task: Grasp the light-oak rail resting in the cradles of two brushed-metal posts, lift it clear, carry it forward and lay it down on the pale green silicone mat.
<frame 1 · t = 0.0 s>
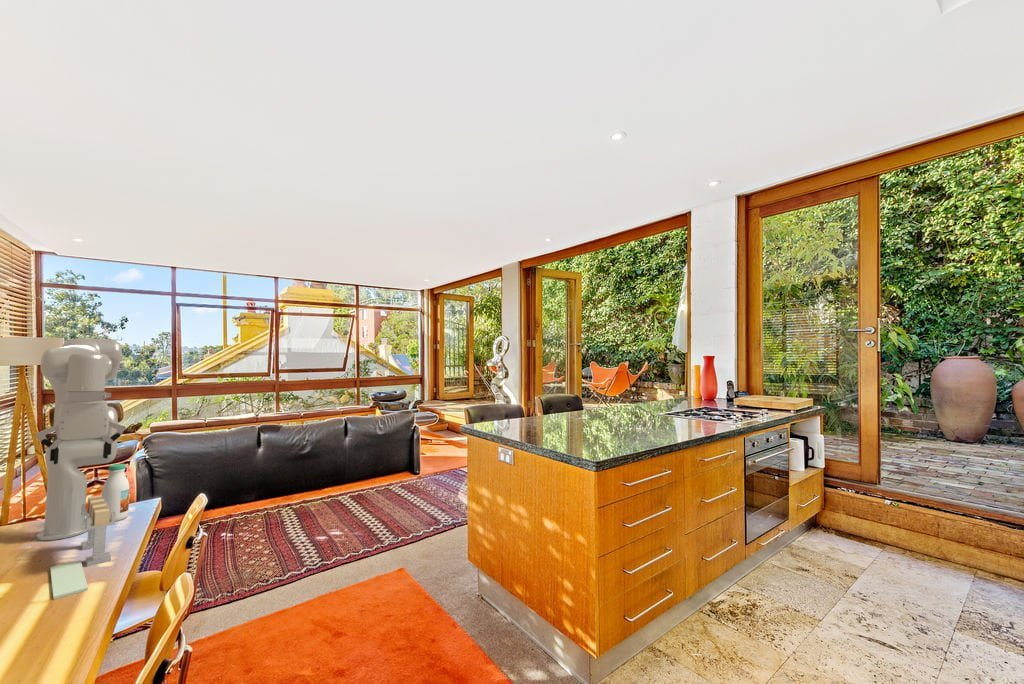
hand: (81, 460, 117), 31 cm above the table, fingers open, 9 cm apart
rail: (97, 516, 131), point 11 cm above the table, touching post 2, post 1
post 2: (98, 560, 125), on the table
mat: (68, 579, 114), on the table
milk bottle: (114, 519, 159), on the table
post 1: (92, 545, 136), on the table
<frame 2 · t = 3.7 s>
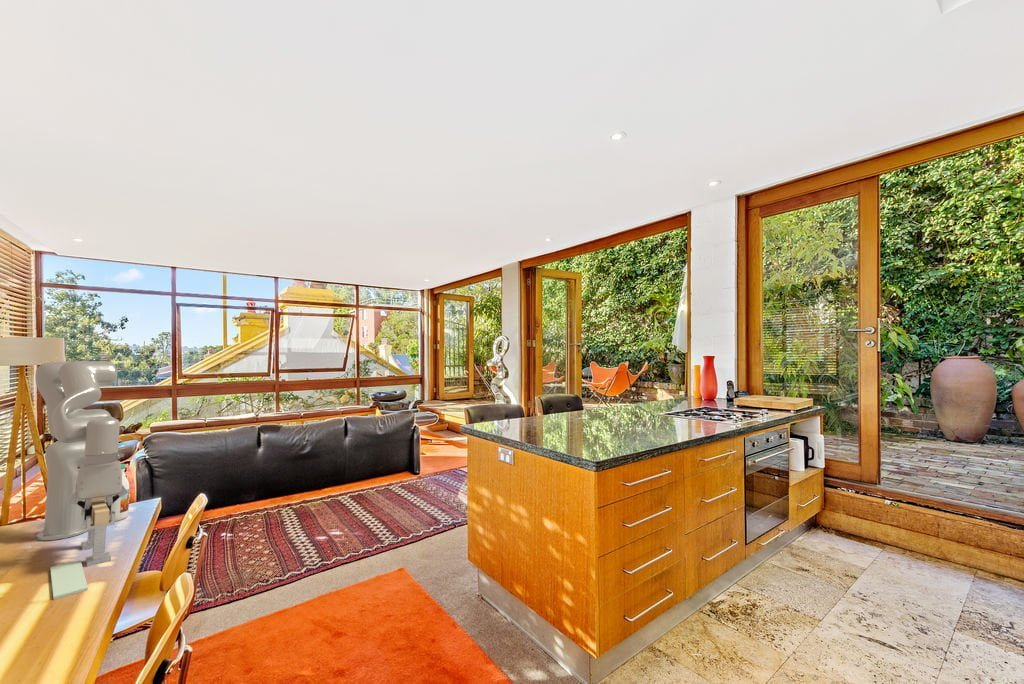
hand: (97, 519, 131), 10 cm above the table, fingers closed on rail, 3 cm apart
rail: (97, 516, 131), point 11 cm above the table, touching gripper, post 1
everything else where it was.
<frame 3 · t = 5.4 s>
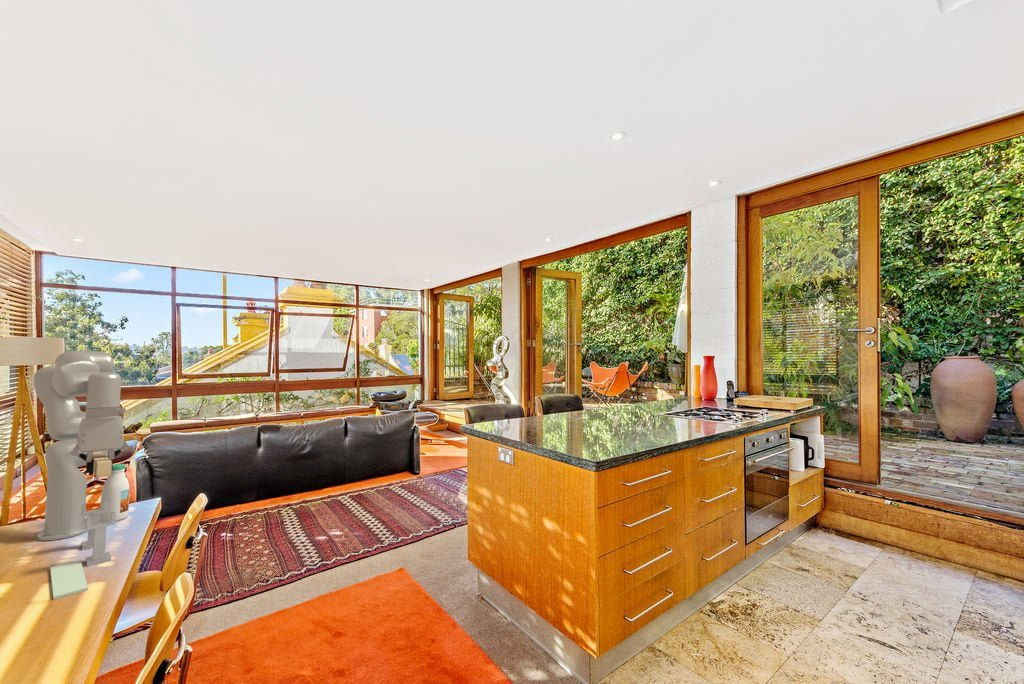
hand: (99, 473, 131), 24 cm above the table, fingers closed on rail, 3 cm apart
rail: (99, 470, 131), point 25 cm above the table, touching gripper
everything else where it was.
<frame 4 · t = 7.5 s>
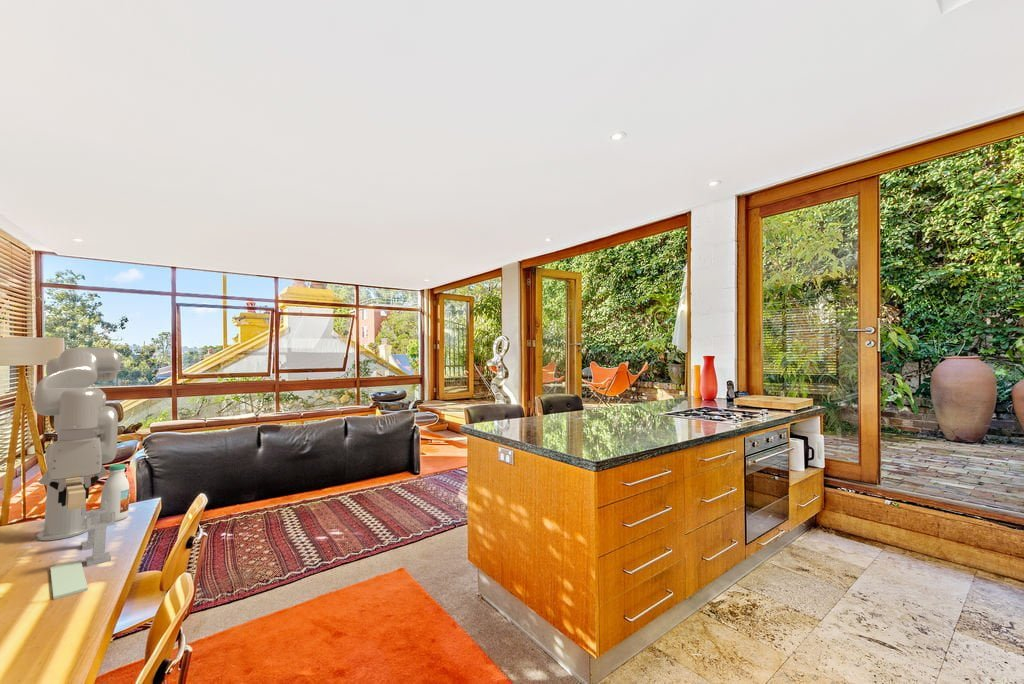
hand: (73, 502, 115), 20 cm above the table, fingers closed on rail, 3 cm apart
rail: (73, 499, 116), point 21 cm above the table, touching gripper
everything else where it was.
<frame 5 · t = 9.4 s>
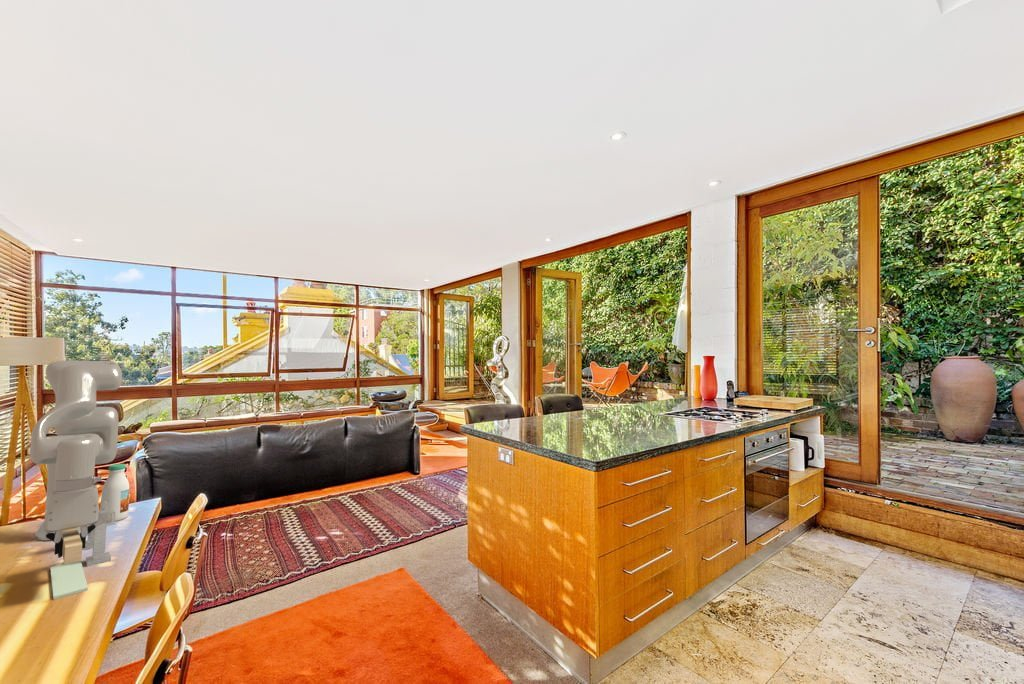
hand: (69, 553, 115), 7 cm above the table, fingers closed on rail, 3 cm apart
rail: (70, 550, 115), point 8 cm above the table, touching gripper
everything else where it was.
when the fingers open (1 cm above the table, at t = 11.3 s): rail drops 2 cm, resting on mat.
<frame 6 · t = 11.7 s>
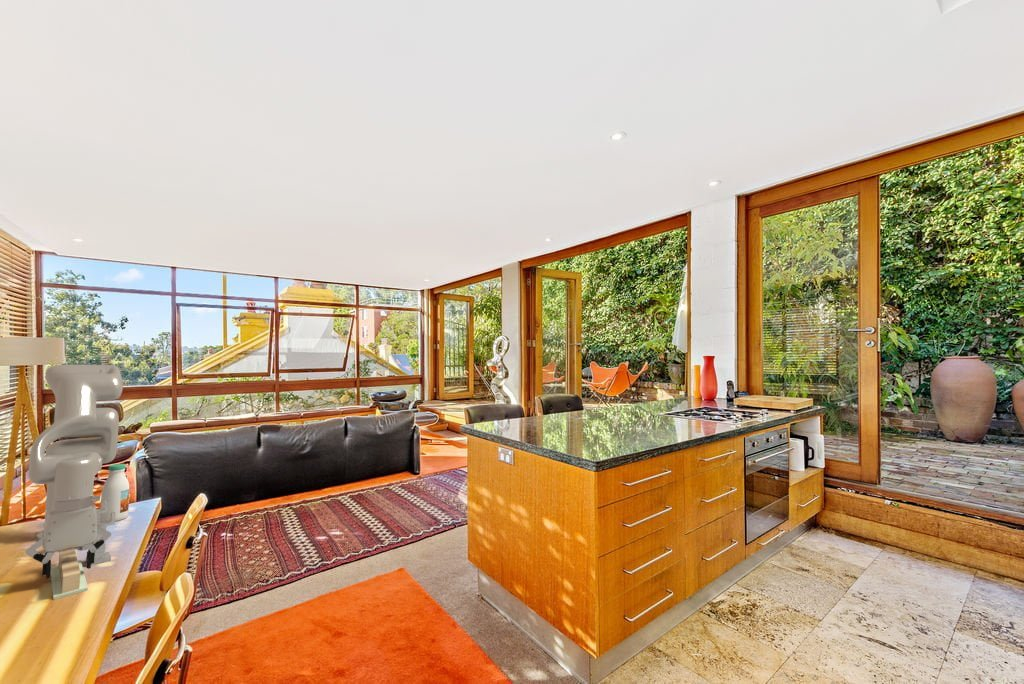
hand: (68, 571, 115), 2 cm above the table, fingers open, 7 cm apart
rail: (68, 576, 114), point 1 cm above the table, touching mat
everything else where it was.
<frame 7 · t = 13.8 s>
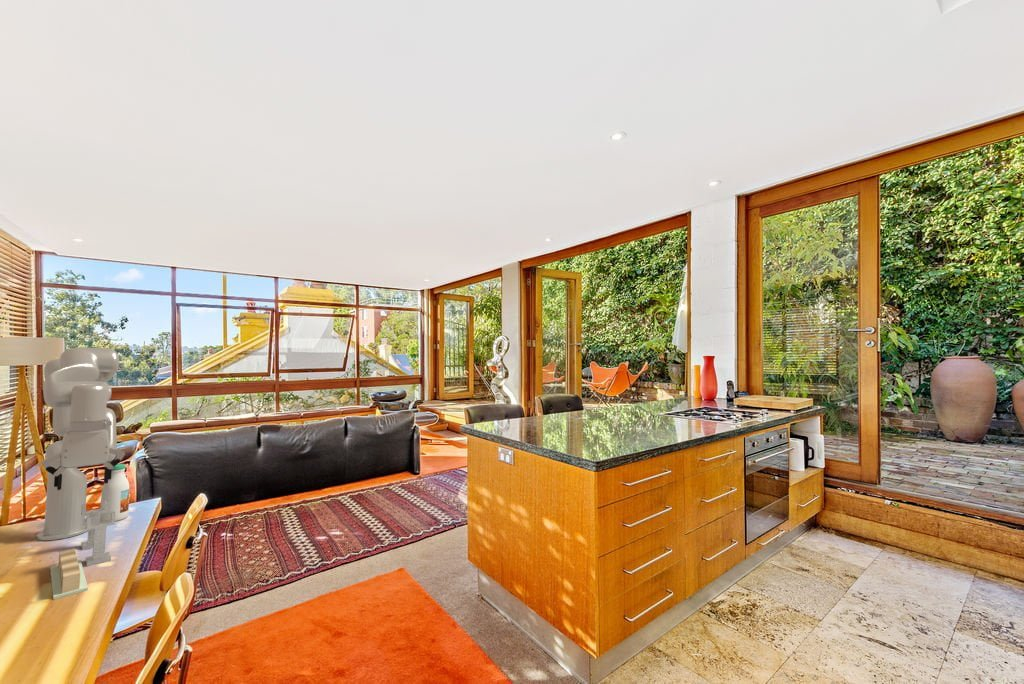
hand: (83, 485, 124), 22 cm above the table, fingers open, 9 cm apart
nothing on the table moved.
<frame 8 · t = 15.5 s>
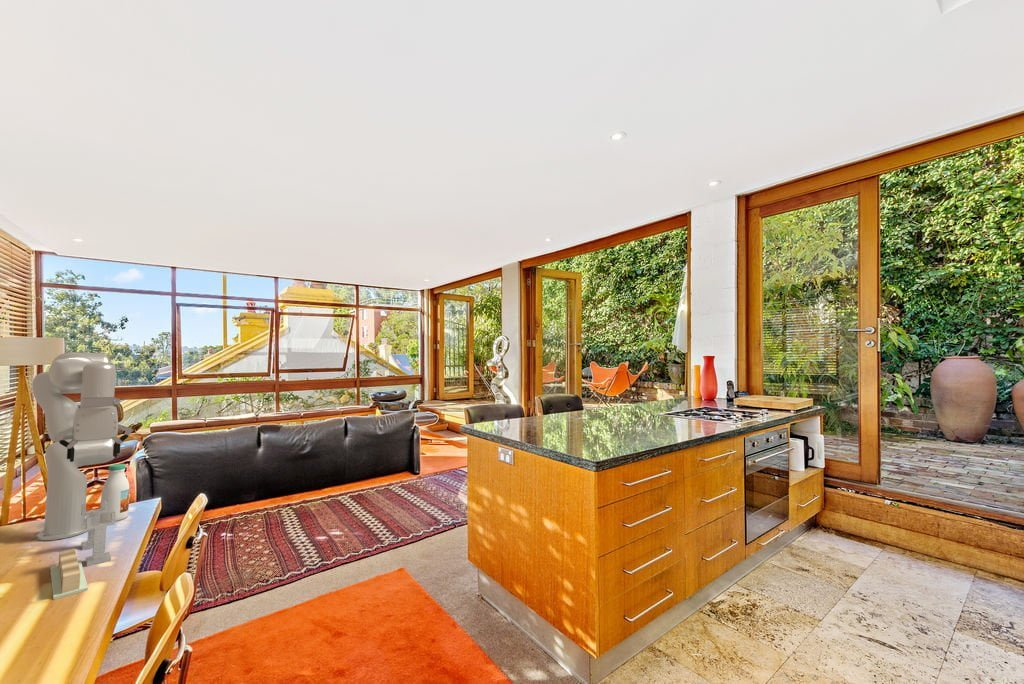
hand: (93, 458, 132), 28 cm above the table, fingers open, 9 cm apart
nothing on the table moved.
at the end: rail inside the target area on the mat (0.1 cm from its centre), point 0.6 cm above the mat's base; rail point 0.6 cm above the table; the gripper is holding nothing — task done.
